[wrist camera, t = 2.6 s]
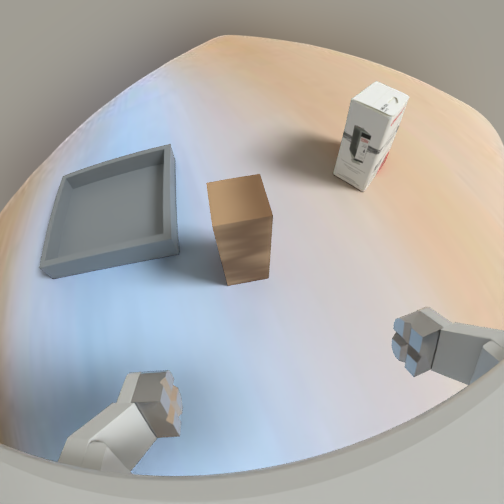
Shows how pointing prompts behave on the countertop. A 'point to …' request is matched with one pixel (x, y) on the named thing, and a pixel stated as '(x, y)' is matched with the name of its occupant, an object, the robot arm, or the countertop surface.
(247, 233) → the tan block
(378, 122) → the ink box
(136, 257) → the tray
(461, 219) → the countertop surface
